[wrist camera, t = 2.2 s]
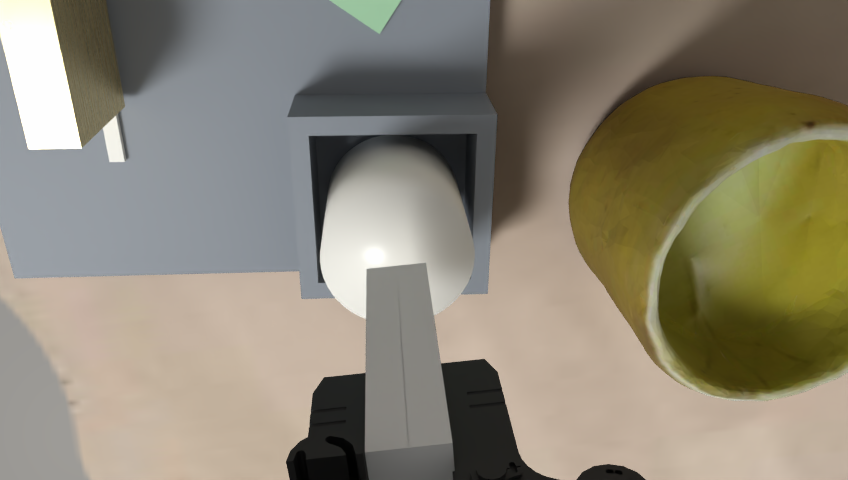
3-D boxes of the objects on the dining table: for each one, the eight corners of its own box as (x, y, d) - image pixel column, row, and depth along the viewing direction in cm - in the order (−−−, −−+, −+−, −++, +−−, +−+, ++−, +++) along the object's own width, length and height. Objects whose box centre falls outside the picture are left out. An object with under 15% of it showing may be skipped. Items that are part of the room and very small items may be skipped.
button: (324, 135, 24) (315, 189, 20) (459, 133, 24) (477, 186, 20) (331, 255, 26) (323, 326, 22) (455, 252, 26) (471, 322, 22)
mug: (516, 337, 28) (673, 446, 19) (538, 69, 27) (721, 42, 17) (771, 331, 32) (1010, 420, 23) (803, 95, 31) (1073, 84, 21)
